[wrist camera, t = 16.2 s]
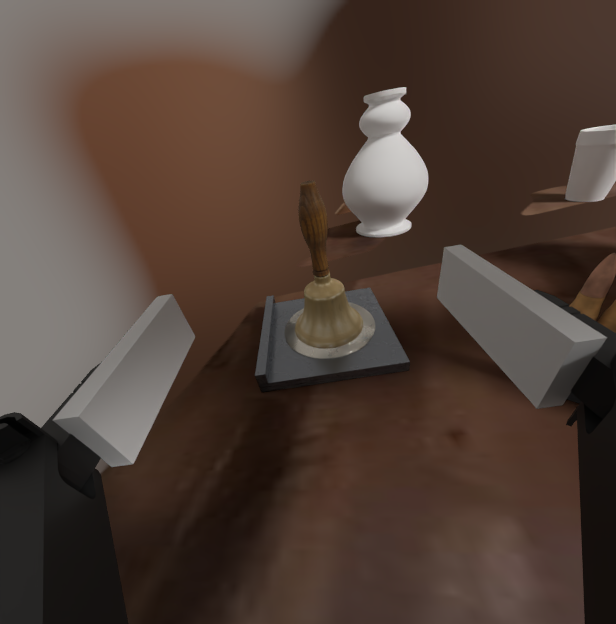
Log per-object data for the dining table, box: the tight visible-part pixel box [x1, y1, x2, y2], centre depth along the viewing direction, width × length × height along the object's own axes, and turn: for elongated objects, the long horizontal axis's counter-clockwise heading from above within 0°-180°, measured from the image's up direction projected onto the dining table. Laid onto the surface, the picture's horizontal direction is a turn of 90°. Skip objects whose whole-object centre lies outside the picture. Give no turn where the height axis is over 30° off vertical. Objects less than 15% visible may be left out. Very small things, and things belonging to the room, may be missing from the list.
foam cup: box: [565, 125, 616, 202], centre depth 53 cm, size 10×9×13 cm
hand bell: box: [295, 181, 363, 349], centre depth 27 cm, size 8×8×16 cm
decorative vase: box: [343, 87, 428, 237], centre depth 54 cm, size 18×18×25 cm
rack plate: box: [255, 288, 410, 392], centre depth 31 cm, size 15×15×2 cm
